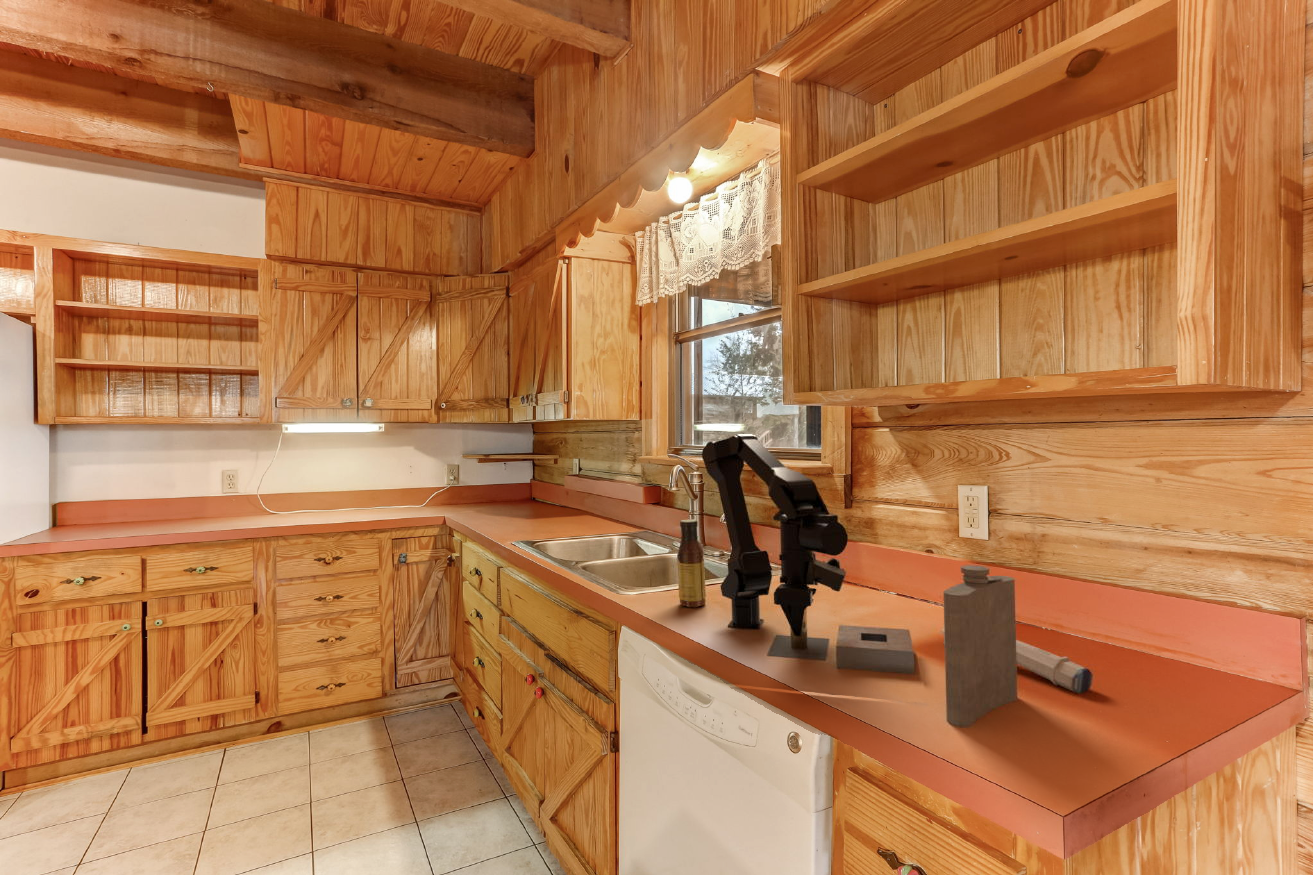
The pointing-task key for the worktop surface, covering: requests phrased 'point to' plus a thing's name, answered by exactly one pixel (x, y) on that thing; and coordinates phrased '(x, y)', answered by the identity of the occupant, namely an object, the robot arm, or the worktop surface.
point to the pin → (800, 641)
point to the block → (875, 649)
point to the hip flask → (979, 645)
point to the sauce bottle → (691, 566)
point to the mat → (783, 649)
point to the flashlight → (1053, 667)
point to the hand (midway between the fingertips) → (798, 632)
